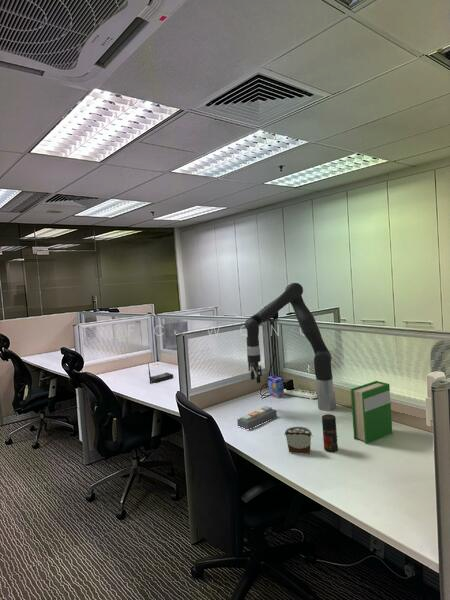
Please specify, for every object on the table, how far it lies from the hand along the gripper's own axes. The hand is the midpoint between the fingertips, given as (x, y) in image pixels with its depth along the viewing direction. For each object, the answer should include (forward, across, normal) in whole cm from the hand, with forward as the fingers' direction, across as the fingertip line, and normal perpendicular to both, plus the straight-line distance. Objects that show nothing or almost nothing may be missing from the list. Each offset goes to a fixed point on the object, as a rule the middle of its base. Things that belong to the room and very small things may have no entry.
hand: (255, 381), depth 223 cm
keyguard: (+19, -12, +5) cm, 23 cm away
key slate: (+17, -9, -2) cm, 19 cm away
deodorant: (+19, -57, -11) cm, 61 cm away
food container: (+19, -52, +1) cm, 55 cm away
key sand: (+17, -11, +3) cm, 20 cm away
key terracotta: (+17, -13, +8) cm, 22 cm away
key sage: (+17, -15, +12) cm, 25 cm away
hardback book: (+18, -56, -35) cm, 68 cm away
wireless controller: (+21, +108, +41) cm, 118 cm away
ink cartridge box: (+19, +21, -22) cm, 36 cm away
